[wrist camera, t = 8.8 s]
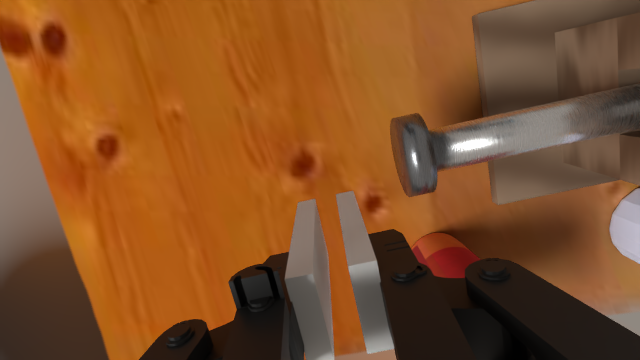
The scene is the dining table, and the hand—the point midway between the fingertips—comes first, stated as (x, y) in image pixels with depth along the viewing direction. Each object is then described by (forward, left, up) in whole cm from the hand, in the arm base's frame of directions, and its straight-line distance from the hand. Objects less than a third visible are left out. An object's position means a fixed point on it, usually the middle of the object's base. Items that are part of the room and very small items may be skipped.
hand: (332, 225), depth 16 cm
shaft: (0, +14, -13) cm, 19 cm away
